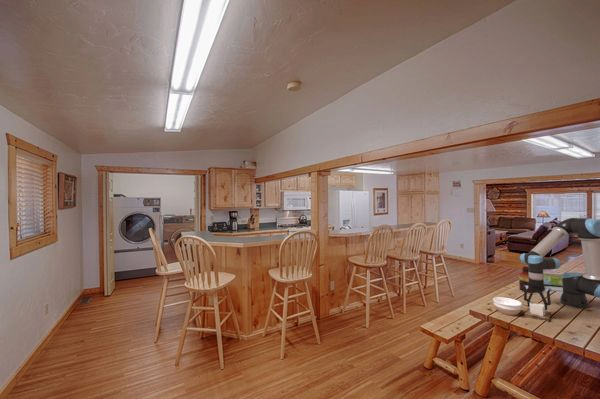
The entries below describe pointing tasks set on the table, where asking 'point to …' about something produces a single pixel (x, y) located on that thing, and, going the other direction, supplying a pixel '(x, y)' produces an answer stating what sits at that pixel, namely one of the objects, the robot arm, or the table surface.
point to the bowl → (507, 305)
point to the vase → (524, 279)
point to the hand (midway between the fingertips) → (537, 313)
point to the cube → (537, 309)
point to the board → (534, 316)
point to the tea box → (553, 280)
